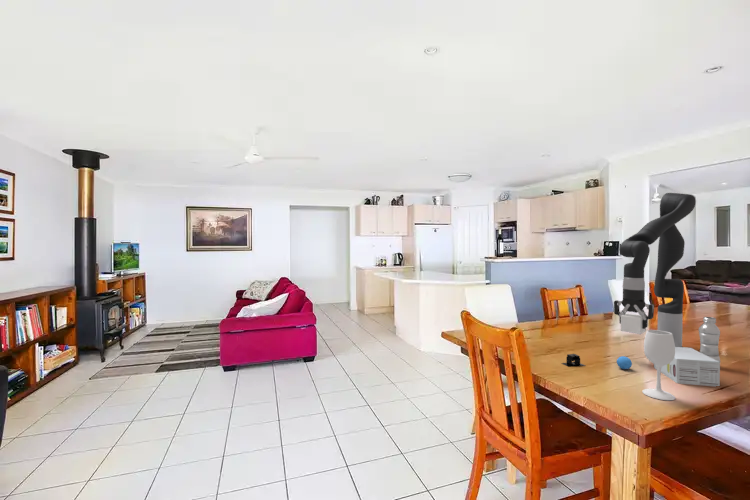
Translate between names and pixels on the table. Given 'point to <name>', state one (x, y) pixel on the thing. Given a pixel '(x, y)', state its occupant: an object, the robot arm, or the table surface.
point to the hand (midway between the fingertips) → (633, 326)
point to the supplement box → (692, 368)
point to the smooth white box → (632, 323)
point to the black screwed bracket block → (573, 358)
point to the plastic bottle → (709, 338)
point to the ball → (624, 362)
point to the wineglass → (659, 358)
